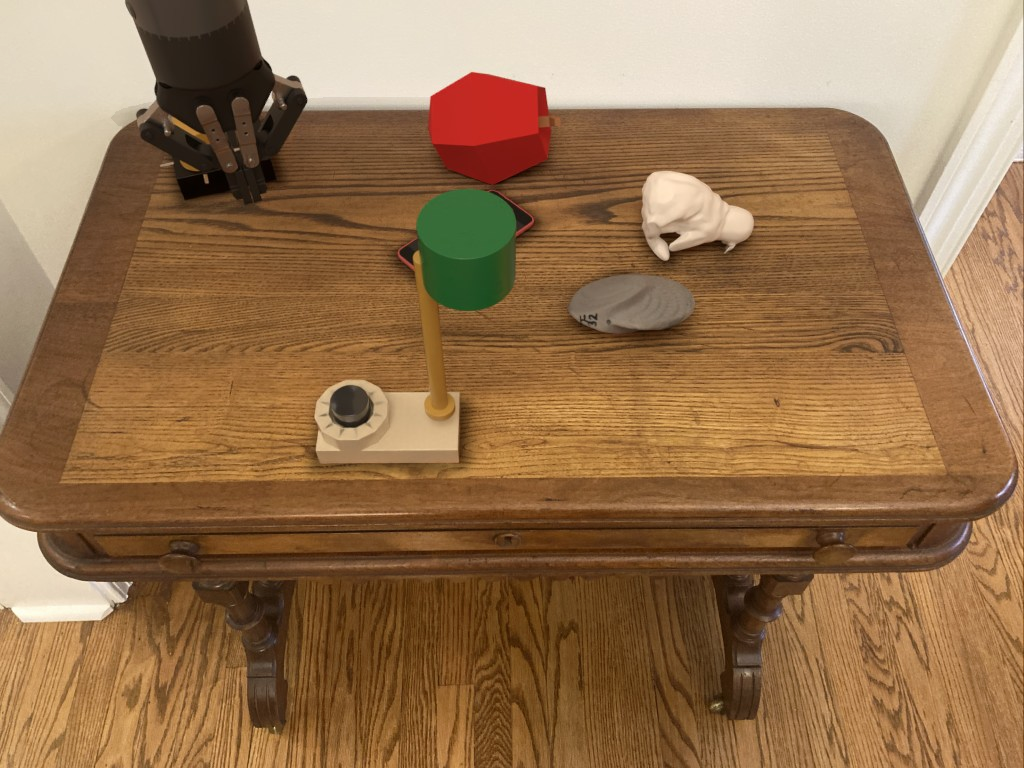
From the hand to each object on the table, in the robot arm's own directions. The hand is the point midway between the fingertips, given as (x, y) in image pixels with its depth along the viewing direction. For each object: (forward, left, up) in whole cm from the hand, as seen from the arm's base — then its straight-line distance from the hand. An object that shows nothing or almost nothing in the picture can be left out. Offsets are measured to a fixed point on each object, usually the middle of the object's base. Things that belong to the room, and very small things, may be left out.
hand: (251, 196), depth 71 cm
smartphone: (+19, +4, -15) cm, 25 cm away
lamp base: (+6, -17, -15) cm, 23 cm away
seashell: (+31, -11, -15) cm, 37 cm away
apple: (+25, +15, -15) cm, 33 cm away
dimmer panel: (-3, +24, -15) cm, 28 cm away
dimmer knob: (-5, +22, -12) cm, 25 cm away
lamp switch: (+3, -16, -12) cm, 20 cm away
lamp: (+13, -19, -11) cm, 25 cm away
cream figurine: (+41, -4, -15) cm, 44 cm away
